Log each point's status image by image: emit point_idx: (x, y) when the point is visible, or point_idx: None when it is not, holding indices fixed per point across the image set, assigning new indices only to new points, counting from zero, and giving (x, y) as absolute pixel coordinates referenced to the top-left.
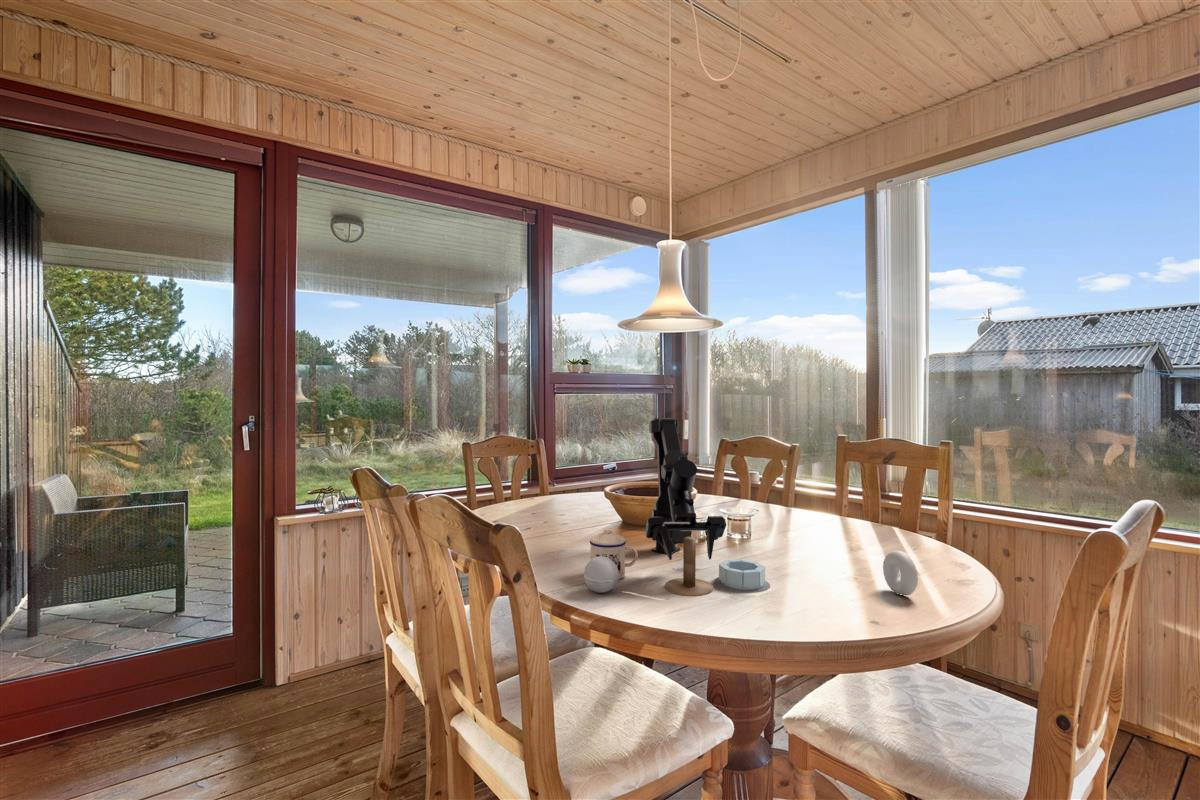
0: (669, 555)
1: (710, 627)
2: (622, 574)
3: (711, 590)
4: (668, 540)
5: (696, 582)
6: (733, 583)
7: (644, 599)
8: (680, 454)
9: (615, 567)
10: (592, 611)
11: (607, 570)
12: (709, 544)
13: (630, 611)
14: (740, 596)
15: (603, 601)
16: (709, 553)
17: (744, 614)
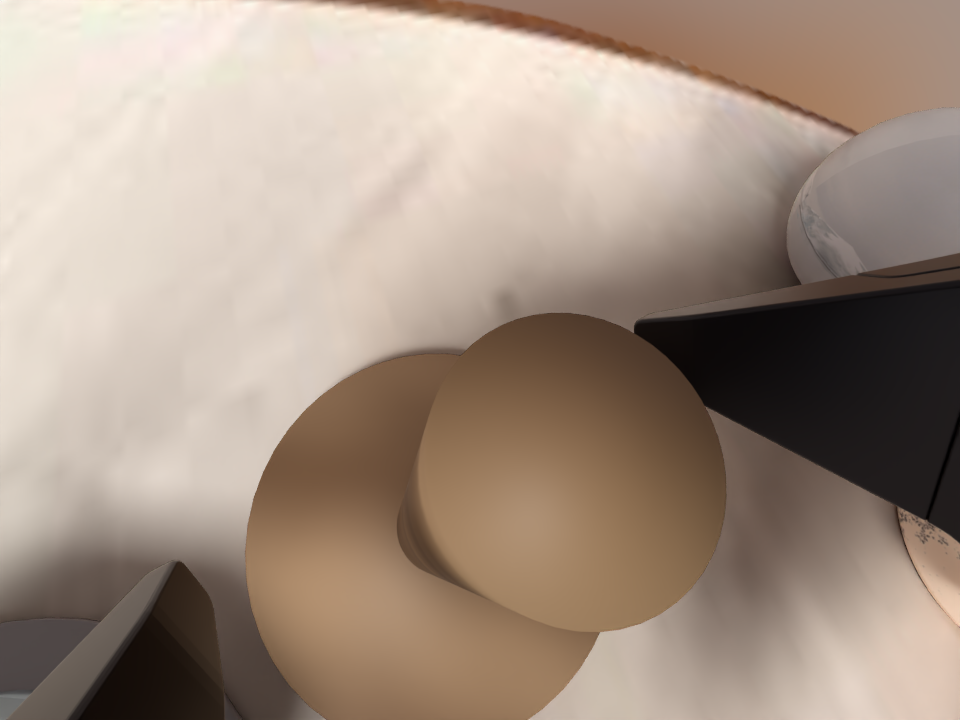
0: (670, 310)
1: (209, 53)
2: (920, 524)
3: (254, 496)
4: (860, 288)
5: (411, 634)
6: (20, 703)
7: (605, 255)
8: None
9: (884, 183)
10: (703, 87)
11: (876, 130)
12: (77, 704)
13: (586, 118)
14: (6, 558)
15: (736, 179)
16: (163, 588)
17: (9, 229)
